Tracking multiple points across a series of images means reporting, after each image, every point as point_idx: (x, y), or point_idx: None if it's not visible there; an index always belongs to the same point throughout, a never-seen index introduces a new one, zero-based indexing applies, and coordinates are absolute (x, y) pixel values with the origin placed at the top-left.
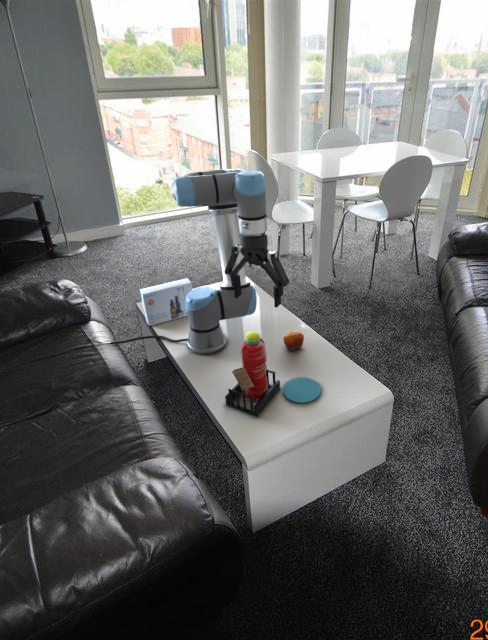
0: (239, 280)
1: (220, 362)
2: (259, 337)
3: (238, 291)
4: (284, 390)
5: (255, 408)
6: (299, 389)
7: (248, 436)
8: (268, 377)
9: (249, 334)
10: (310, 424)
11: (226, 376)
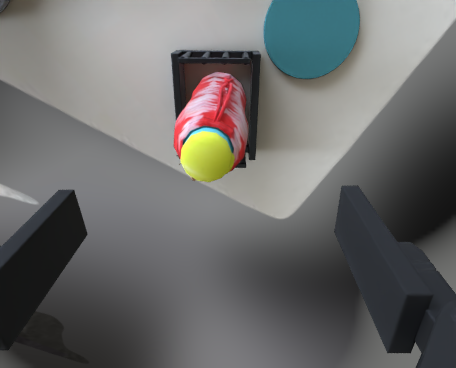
0: (14, 270)
1: (63, 23)
2: (228, 146)
3: (65, 238)
4: (272, 54)
5: (254, 159)
6: (305, 32)
7: (264, 193)
8: (228, 57)
9: (197, 168)
10: (361, 122)
11: (118, 68)
